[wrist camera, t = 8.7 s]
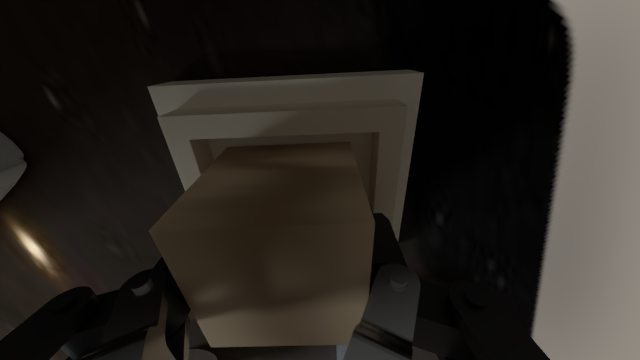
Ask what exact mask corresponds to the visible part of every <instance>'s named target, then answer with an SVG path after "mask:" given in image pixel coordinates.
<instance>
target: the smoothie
mask: <svg viewBox="0 0 640 360" xmlns="http://www.w3.org/2000/svg"><path fill="white" fill-rule="evenodd" d="M189 360H217V358H216V356H215V355H214V354H213V353H211V352H209V351H206V350H202V349H189Z"/></svg>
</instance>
